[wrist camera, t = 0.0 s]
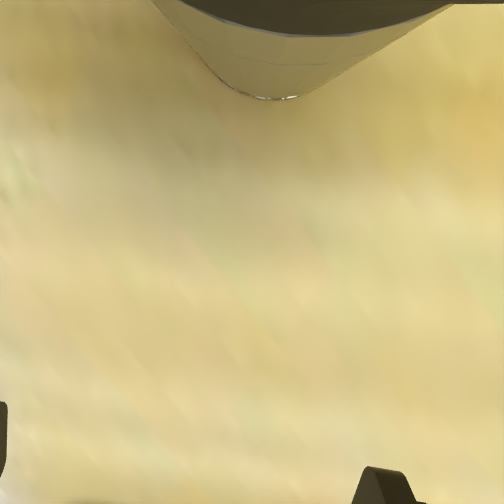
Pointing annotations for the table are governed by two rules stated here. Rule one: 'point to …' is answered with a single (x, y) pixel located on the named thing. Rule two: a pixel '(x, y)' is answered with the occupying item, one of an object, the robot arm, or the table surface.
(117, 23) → the table surface
